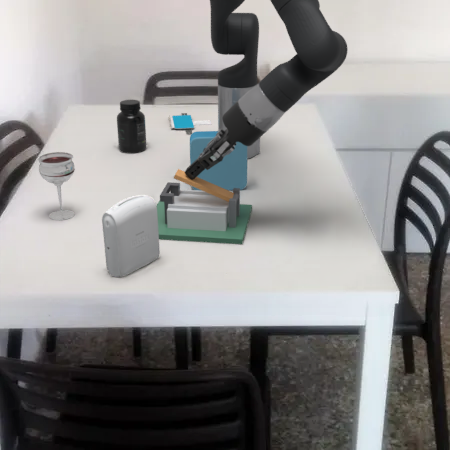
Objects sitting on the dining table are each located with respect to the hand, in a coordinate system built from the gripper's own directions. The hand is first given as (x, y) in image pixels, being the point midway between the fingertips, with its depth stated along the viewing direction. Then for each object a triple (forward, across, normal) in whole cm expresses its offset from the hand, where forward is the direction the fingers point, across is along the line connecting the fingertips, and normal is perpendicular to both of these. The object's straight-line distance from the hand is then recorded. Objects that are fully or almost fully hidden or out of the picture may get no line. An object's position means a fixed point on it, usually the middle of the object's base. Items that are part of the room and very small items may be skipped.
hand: (188, 175), depth 136 cm
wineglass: (+25, 0, -11) cm, 28 cm away
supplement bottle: (+23, -41, -9) cm, 48 cm away
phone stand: (+16, -64, -1) cm, 66 cm away
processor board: (+6, 0, +8) cm, 10 cm away
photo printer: (+12, +18, +3) cm, 22 cm away
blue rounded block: (+5, -19, +9) cm, 22 cm away
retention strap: (-3, 0, +9) cm, 10 cm away
